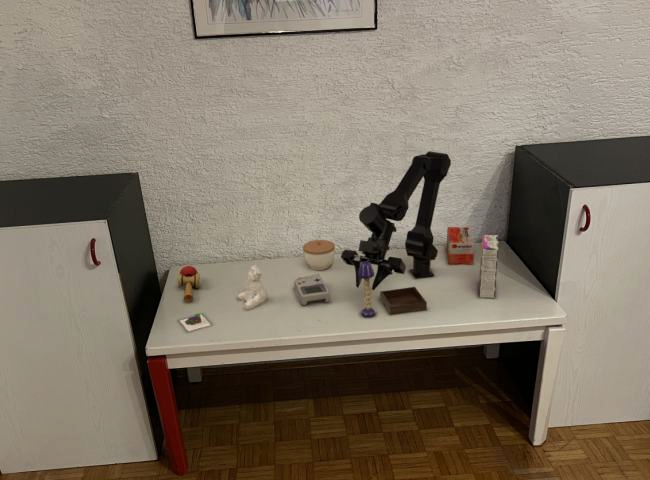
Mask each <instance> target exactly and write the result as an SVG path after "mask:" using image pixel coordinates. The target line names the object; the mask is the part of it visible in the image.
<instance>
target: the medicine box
mask: <svg viewBox="0 0 650 480" xmlns="http://www.w3.org/2000/svg"><path fill="white" fill-rule="evenodd" d="M446 235H447V236H446V253H447V260H448V264H449V265H459V264H462V265H474V264H473V263H474V252H475V249H474V248H475V240H474V236H473V231H472V228H471V226H447V231H446Z"/></svg>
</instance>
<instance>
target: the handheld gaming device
mask: <svg viewBox="0 0 650 480" xmlns="http://www.w3.org/2000/svg"><path fill="white" fill-rule="evenodd" d="M293 288H294V290H295V292H296V295H297V298H298V299H299V302H300V304H301V305H302V306H306V305H307V304H308V303H311V302H317V301H325V302H326V303H327V302H330V301H331V292H330V290H329V289H328V287H327V285H326V283H325V281H324V280H323V278H322V275H320V273H317V274H311V275H305V276H300V277H298V278H296V279H294V281H293Z"/></svg>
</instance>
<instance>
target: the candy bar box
mask: <svg viewBox="0 0 650 480" xmlns="http://www.w3.org/2000/svg"><path fill="white" fill-rule="evenodd" d="M479 259H480V260H479V278H478V297H479V298H480V299H495V298H496V288H497V274H498V263H499V262H498V261H499V235H498V234H482V236H481V244H480V258H479Z"/></svg>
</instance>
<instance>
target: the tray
mask: <svg viewBox="0 0 650 480" xmlns="http://www.w3.org/2000/svg"><path fill="white" fill-rule="evenodd" d="M379 300H380V301H381V303H382V304H383V307H384V308H385V309H386V311H387V312H388V314H389V315H390V316H393V315H400V314H408V313H416V312H422V311H427V309H428V308H427V307H428V306H427V305H428V302H427V301H426V299H425V298H424V296H422V294H421V293H420V292H419V290H418V289H417V288H416V286H411V287H401V288H396V289H387V290H380V291H379Z"/></svg>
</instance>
